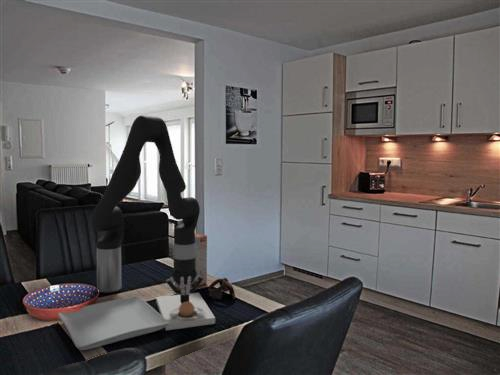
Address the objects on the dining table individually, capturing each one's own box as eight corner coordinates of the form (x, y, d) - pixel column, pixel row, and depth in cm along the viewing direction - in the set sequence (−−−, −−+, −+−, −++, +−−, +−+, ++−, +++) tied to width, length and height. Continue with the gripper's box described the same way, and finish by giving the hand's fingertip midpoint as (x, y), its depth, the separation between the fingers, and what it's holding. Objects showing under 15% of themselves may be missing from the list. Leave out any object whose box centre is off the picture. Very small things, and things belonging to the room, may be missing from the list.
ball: (179, 299, 133) (177, 307, 137) (181, 312, 130) (179, 320, 133) (193, 297, 135) (191, 305, 138) (196, 311, 132) (194, 318, 135)
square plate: (57, 322, 130) (56, 311, 130) (138, 304, 146) (138, 294, 146) (77, 358, 108) (77, 345, 108) (170, 333, 124) (170, 321, 124)
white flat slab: (165, 330, 125) (165, 324, 125) (156, 302, 148) (156, 297, 147) (215, 323, 131) (215, 317, 130) (198, 297, 153) (198, 292, 153)
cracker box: (207, 283, 169) (207, 234, 167) (197, 287, 165) (197, 237, 163) (183, 276, 178) (183, 230, 176) (173, 280, 173) (173, 232, 171)
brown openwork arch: (236, 303, 149) (226, 286, 147) (214, 312, 151) (203, 295, 149) (238, 285, 161) (229, 269, 158) (218, 293, 162) (208, 277, 160)
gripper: (201, 251, 143) (200, 298, 144) (163, 254, 138) (163, 302, 140) (206, 257, 136) (205, 306, 137) (166, 260, 131) (167, 311, 133)
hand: (184, 304), depth 139 cm, fingers closed
